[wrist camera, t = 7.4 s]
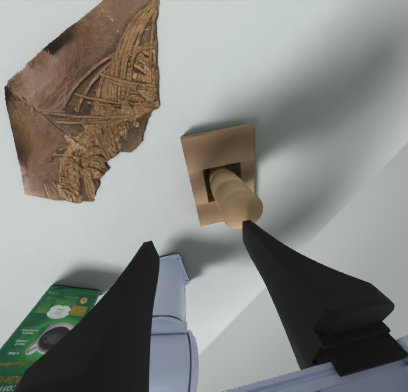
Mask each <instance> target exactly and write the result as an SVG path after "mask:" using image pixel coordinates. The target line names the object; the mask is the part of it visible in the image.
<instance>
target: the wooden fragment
mask: <svg viewBox="0 0 408 392" xmlns="http://www.w3.org/2000/svg"><path fill="white" fill-rule="evenodd" d="M158 7H159V0H103V1H102V2H101V3H100V4H99V5H98V6H96V7H95V8H94V9H92V10H91V11H90V12H89V13H88V14H86V15H85V16H84V17H83V18H81V19H80V20H79V21H78V22H76V23H75V24H73V25H72V26H71V27H69V28H67V29H66V30H65V31H64V32H63V33H62V34H61V35H60V36H59V37H58V38H56V39H55V40H53V41H52V42H51V43H49V44H48V45H47V46H46V47H45V48H44V49H43V50H42V51H41V52H39V53H38V54H37V55H36V56H35V57H34V58H33V59H32V60H31V61H30V62H28V63H27V64H26V66H25V68H23V71H20V73H19V72H17V73H16V74H15V75H14V76H13V77H12V78H11V79H10V80H9V81H8V84H7V86H5V88H4V89H5V100H6V106H7V111H8V114H9V119H10V124H11V128H12V132H13V137H14V142H15V147H16V150H17V155H18V160H19V165H20V167H21V173H22V177H23V185H24V191H25V194H27V195H31V196H37V197H41V198H46V199H52V200H66V201H69V202H74V203H82V201H89V202H92V201H94V196H95V191H96V190H97V189H98V187H99V186H98V185H99V179H101V177H102V176H103V175H104V173H105V172H106V171H108V170H109V169H110V168H109V167H108V165H107V164H106V162H107V161H108V160H110V159H111V158H114V157H115V156H116V155H117V154H118V152H132V151H133V150H134V149H135V148H137V146H138V145H139V144H140V143H141V142H142V134H143V132H144V129H145V125H146V121H147V119H148V118H149V116H150V114H151V112H152V110H155V109H157V108H158V107H159V89H158V84H159V83H158V82H159V68H157V51H158V50H157V37H156V23H155V19H156V16H157V14H158ZM8 86H9V87H10V88H9V87H8ZM11 89H12V90H13V91H14V92H15V93H14V92H13V91H12V90H11Z"/></svg>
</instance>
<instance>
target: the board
mask: <svg viewBox="0 0 408 392" xmlns="http://www.w3.org/2000/svg"><path fill="white" fill-rule="evenodd" d="M181 143H182V147H183V152H184V156H185V160H186V165H187V169H188V173H189V178H190V182H191V186H192V190H193V195H194V199H195V203H196V208H197V212H198V216H199V221H200V225H201V226H204V225H209V224H213V223H218V222H222V221H223V218H222V216H221V213H220V211H219V208H218V206H217V204H216V201H215V199H214V196H213V194H212V193H207V191H206V186H205V180H204V175H203V170H204V169H209V168H214V167H219V166H223V165H228V164H233V163H234V166H235V174H236V175H237V176H238V177H239V178H240V179H241V180H242V181H243V182H244V183H245V184H246V185H247V186H248V187H249V188H250V189H251V190H252V191H253V193H254V156H255V125H251V124H243V125H238V126H233V127H227V128H222V129H217V130H212V131H207V132H202V133H197V134H192V135H187V136H182V137H181Z"/></svg>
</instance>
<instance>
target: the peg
mask: <svg viewBox="0 0 408 392" xmlns="http://www.w3.org/2000/svg"><path fill="white" fill-rule="evenodd" d="M208 180H209V183H210V189H211V191H212V194H213V196H214V199H215V201H216V204H217V206H218V208H219V211H220V213H221V216H222V218H223V221H224V222H225V224H226V225H227V226H229V227H231V228H235V229H242V221H246V220H251V221H252V222H253V223H255V222H256V221H257V220H258V219H259V218H260V216H261V214H262V211H263V204H262V202H261V200H260V199H259V198H258V197H257V196H256V195H255V194H254V193H253V191H252V190H251V189H250V188H249V187H248V186H247V185H246V184H245V183H244V182H243V181H242V180H241V179H240V178H239V177H238V176H237V175H236V174H235V173H234V172H232V171H230V170H229V169H228V168H227V167H226V166H224V165H223V166H219V167H214V168H211V169H210V171H209V173H208Z"/></svg>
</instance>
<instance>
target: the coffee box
mask: <svg viewBox="0 0 408 392" xmlns="http://www.w3.org/2000/svg"><path fill="white" fill-rule="evenodd" d="M99 292H100V291H98V290H91V289H80V288H71V287H66V286H54V285H51V286H50V288H49V289H48V290H47V291H46V293H45V294H44V295H43V296H42V298H41V299H40V300H39V302H38V303H37V304H36V306H35V307H34V308H33V309H32V310H31V312H30V313H29V314H28V315H27V317H26V318H25V319H24V320H23V322H22V323H21V324H20V325H19V327H18V328H17V329H16V330H15V331H14V333H13V334H12V335H11V336H10V338H9V339H8V340H7V341H6V343H5V344H4V345H3V346H2V348H1V349H0V392H13V390H14V388H15V387H16V385H17V383H18V382H19V380H20V379H21V377H22V375H23V374H24V372H25V371H26V369H27V368H29V367H30V366H31V365H32V364H33V363H34V362H36V361H37V360H38V359H39V358H40V357H41V356H43V355H44V354H45V353H46V352H47V351H48V350H49V349H51V348H52V347H53V346H54V345H55V344H56V343H57V342H58V341H59V340H61V339H62V338H63V337H64V336H65V335H66V334H67V333H68V332H69V331H70V330H71V329H72V328H73V327H74V326H75V325H76V324H77V323H79V322H80V321H81V320H82V319H83V318H84V317H85V315H86V314H87V313H88V312H89V311H90V310H91V309H92V308H93V307H94V305H95V303H96V300H97V298H98V295H99Z"/></svg>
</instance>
